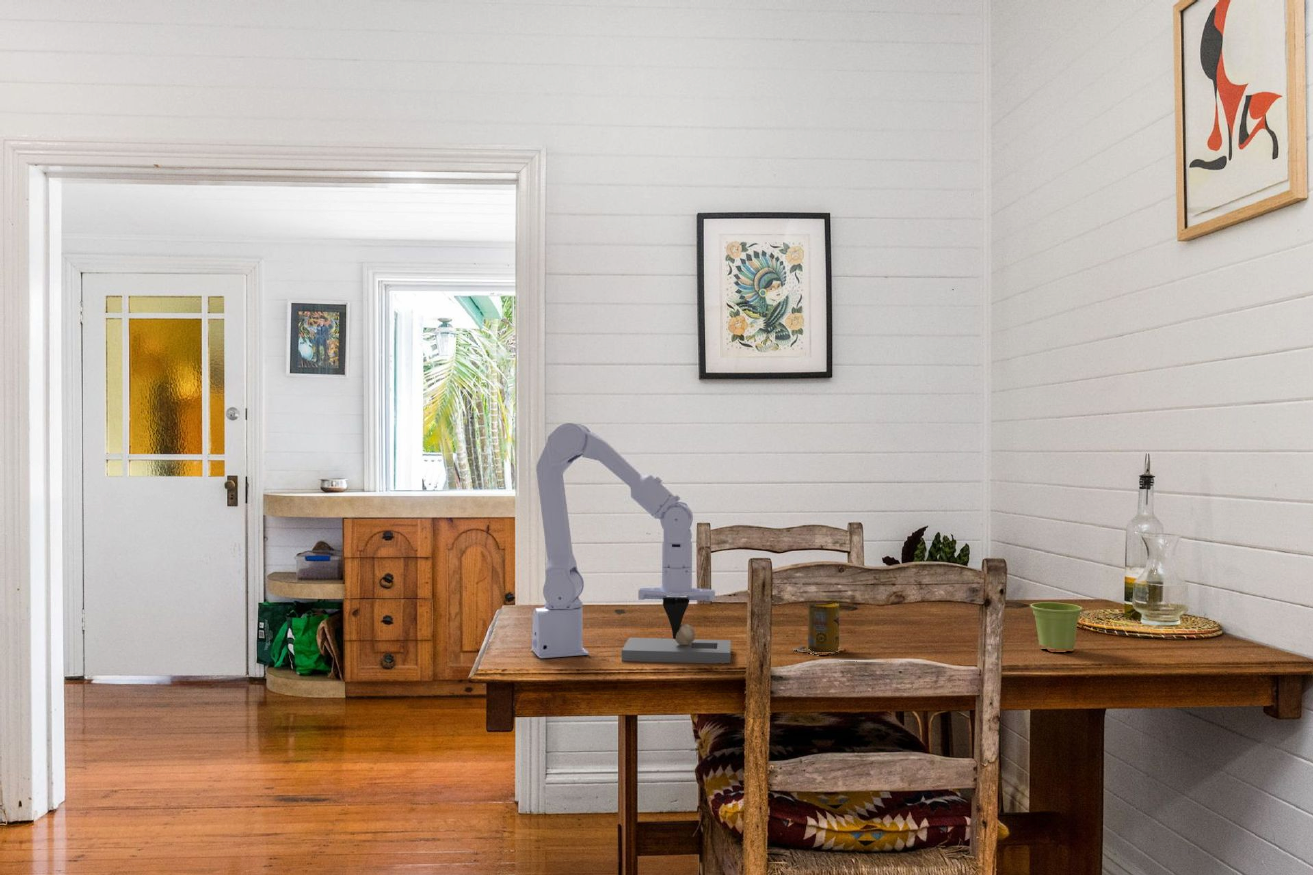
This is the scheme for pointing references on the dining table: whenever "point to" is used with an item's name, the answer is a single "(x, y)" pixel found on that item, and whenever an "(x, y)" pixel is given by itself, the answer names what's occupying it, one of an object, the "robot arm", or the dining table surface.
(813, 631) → the condiment
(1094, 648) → the dining table surface
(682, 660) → the board
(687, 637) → the ball
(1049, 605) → the plant pot
